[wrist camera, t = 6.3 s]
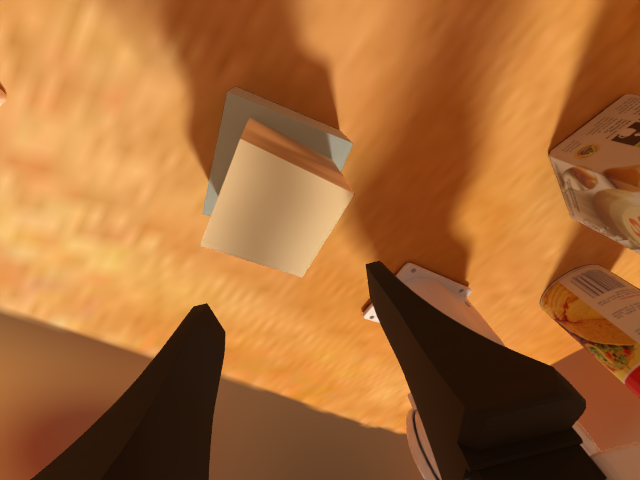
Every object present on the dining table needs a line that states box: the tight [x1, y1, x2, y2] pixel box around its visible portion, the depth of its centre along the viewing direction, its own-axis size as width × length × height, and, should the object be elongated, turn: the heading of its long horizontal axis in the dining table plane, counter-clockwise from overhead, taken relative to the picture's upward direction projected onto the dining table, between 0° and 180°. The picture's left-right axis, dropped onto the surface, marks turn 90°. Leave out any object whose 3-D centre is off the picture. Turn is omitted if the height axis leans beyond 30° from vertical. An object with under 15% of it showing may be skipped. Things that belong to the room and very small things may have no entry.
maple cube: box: [200, 117, 354, 277], centre depth 14 cm, size 5×5×5 cm
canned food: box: [540, 265, 640, 398], centre depth 27 cm, size 8×8×12 cm
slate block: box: [202, 87, 353, 216], centre depth 17 cm, size 7×7×4 cm
